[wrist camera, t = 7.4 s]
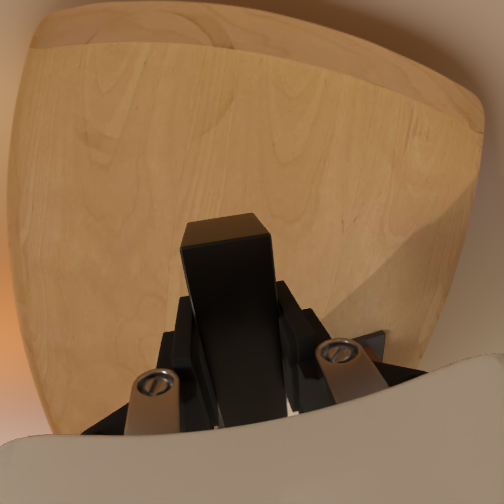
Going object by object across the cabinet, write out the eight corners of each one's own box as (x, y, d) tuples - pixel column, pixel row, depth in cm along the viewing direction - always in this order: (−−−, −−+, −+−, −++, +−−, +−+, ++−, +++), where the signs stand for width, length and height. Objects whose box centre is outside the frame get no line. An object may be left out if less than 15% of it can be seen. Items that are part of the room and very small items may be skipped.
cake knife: (186, 222, 11) (174, 263, 7) (253, 212, 11) (282, 246, 7) (250, 487, 16) (260, 538, 12) (284, 480, 17) (299, 531, 12)
